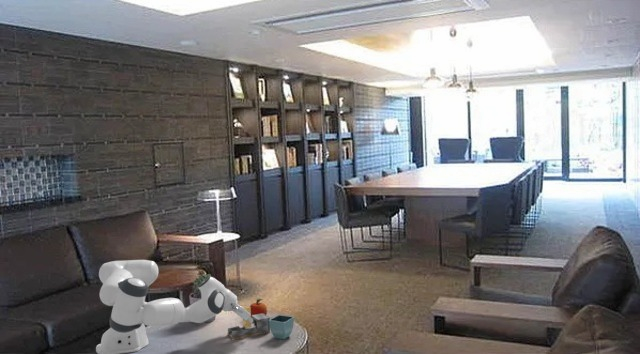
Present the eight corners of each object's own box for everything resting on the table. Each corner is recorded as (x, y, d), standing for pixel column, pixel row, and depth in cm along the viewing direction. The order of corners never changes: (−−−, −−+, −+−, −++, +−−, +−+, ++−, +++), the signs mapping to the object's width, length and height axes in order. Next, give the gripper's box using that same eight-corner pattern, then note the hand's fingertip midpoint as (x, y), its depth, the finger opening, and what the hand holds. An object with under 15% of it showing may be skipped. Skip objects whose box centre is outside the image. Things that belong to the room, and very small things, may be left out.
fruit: (244, 319, 286) (244, 300, 285) (257, 314, 293) (257, 296, 293) (258, 323, 280) (257, 303, 279) (271, 318, 287) (270, 299, 287)
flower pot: (268, 339, 257) (268, 319, 257) (278, 332, 265) (278, 314, 264) (285, 341, 253) (284, 322, 253) (294, 335, 261) (294, 316, 260)
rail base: (233, 339, 257) (232, 324, 256) (227, 334, 264) (227, 319, 263) (270, 332, 266) (269, 317, 265) (263, 327, 273) (263, 313, 272)
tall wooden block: (245, 332, 262) (244, 308, 262) (243, 330, 265) (242, 306, 264) (265, 328, 267) (264, 304, 266) (262, 326, 270) (261, 303, 269)
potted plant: (206, 328, 274) (204, 278, 272) (180, 321, 285) (178, 273, 284) (232, 318, 288) (231, 271, 286) (207, 312, 300) (205, 266, 298)
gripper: (240, 301, 251) (261, 318, 256) (224, 291, 269) (244, 307, 274) (231, 312, 249) (252, 330, 254) (216, 301, 267) (236, 318, 272)
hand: (248, 318), depth 264 cm, fingers open, 8 cm apart
